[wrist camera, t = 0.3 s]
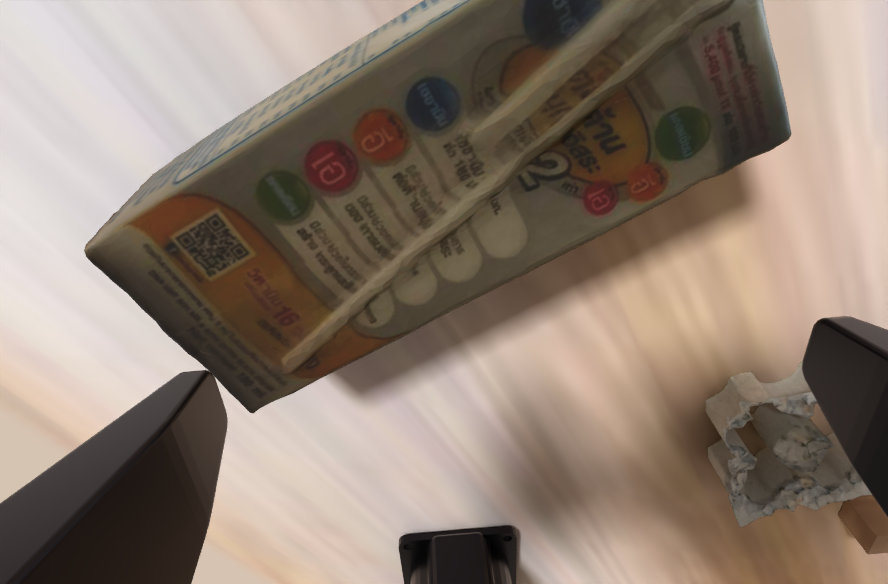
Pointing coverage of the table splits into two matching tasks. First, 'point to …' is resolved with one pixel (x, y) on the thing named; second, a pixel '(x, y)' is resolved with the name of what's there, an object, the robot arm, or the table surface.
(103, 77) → the table surface
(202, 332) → the grey-green printed box
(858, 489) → the egg carton
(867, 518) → the frame
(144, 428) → the robot arm
